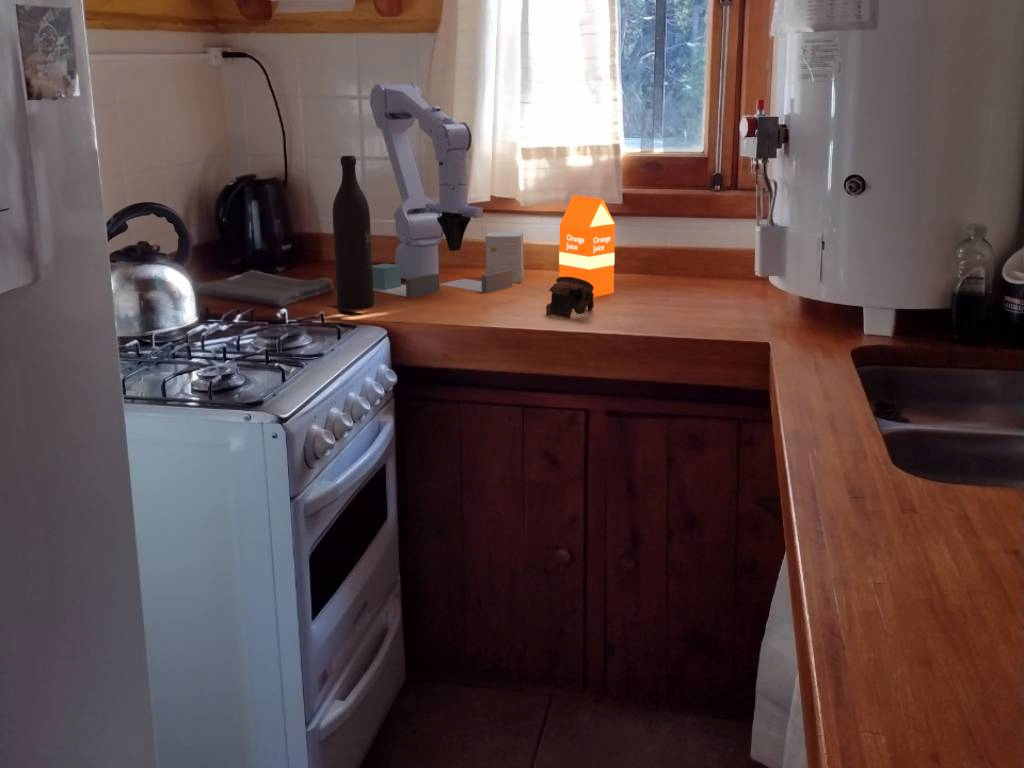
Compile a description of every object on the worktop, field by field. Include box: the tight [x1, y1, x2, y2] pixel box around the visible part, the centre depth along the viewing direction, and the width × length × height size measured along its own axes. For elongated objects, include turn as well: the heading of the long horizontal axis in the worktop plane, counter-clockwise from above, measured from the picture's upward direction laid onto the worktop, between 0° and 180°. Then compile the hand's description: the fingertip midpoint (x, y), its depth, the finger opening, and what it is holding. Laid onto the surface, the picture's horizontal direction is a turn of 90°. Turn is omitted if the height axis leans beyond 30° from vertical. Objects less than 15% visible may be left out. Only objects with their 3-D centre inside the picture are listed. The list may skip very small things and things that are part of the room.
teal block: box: [372, 263, 402, 290], centre depth 225 cm, size 4×4×4 cm
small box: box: [485, 231, 525, 284], centre depth 236 cm, size 8×6×10 cm
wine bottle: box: [332, 155, 375, 316], centre depth 204 cm, size 7×7×30 cm
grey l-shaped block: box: [439, 269, 514, 294], centre depth 225 cm, size 14×8×4 cm, turn 49°
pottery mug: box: [545, 276, 595, 319], centre depth 204 cm, size 12×9×8 cm
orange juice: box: [558, 195, 616, 298], centre depth 221 cm, size 8×9×20 cm
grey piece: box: [373, 273, 440, 298], centre depth 223 cm, size 18×8×4 cm, turn 49°
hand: (454, 250), depth 220 cm, fingers closed
